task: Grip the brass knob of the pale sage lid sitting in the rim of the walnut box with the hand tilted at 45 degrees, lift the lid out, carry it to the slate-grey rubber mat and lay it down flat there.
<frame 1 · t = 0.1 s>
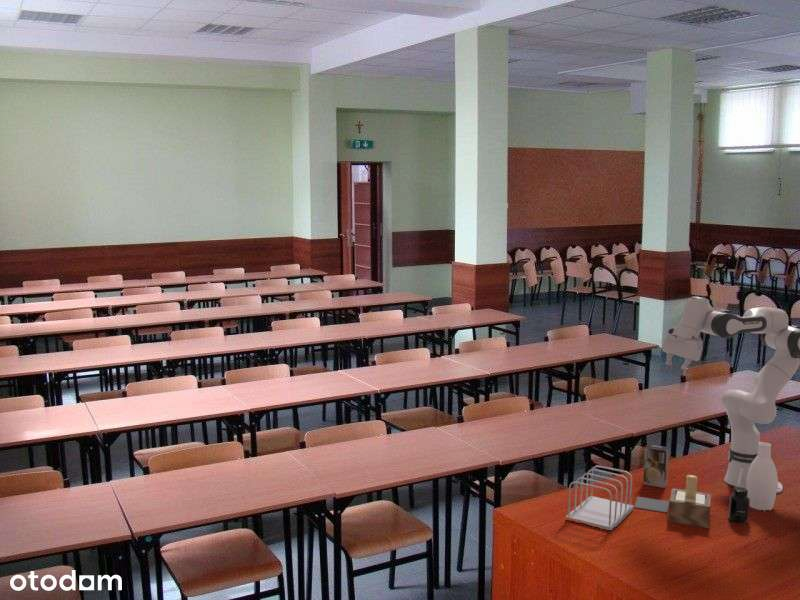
hand: (675, 367, 311), 52 cm above the table, tool tilted 20°, fingers open, 8 cm apart
coffee box: (654, 484, 325), on the table
supplement bottle: (738, 520, 289), on the table
bottle: (760, 507, 302), on the table
box: (689, 517, 290), on the table
file sorter: (600, 516, 291), on the table
mat: (651, 505, 302), on the table
lid: (690, 499, 289), point 7 cm above the table, touching box
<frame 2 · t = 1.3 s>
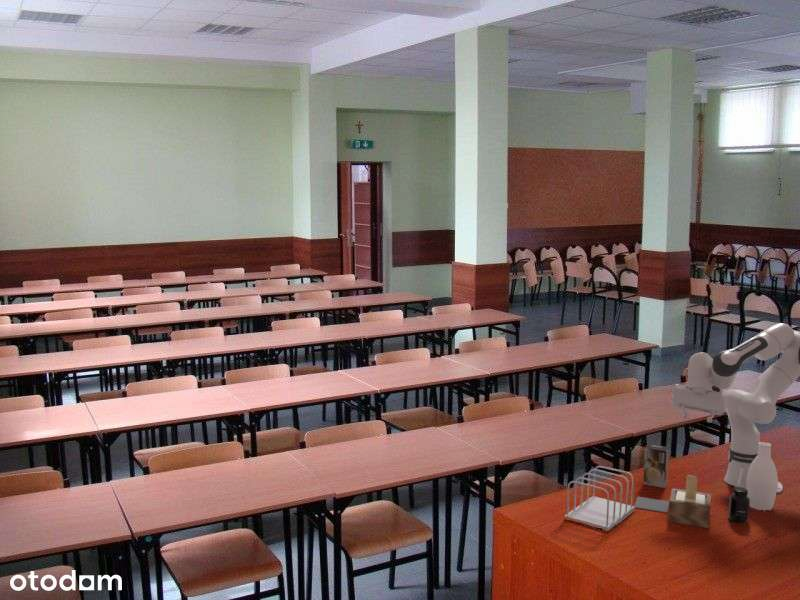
hand: (696, 419, 303), 33 cm above the table, tool tilted 45°, fingers open, 8 cm apart
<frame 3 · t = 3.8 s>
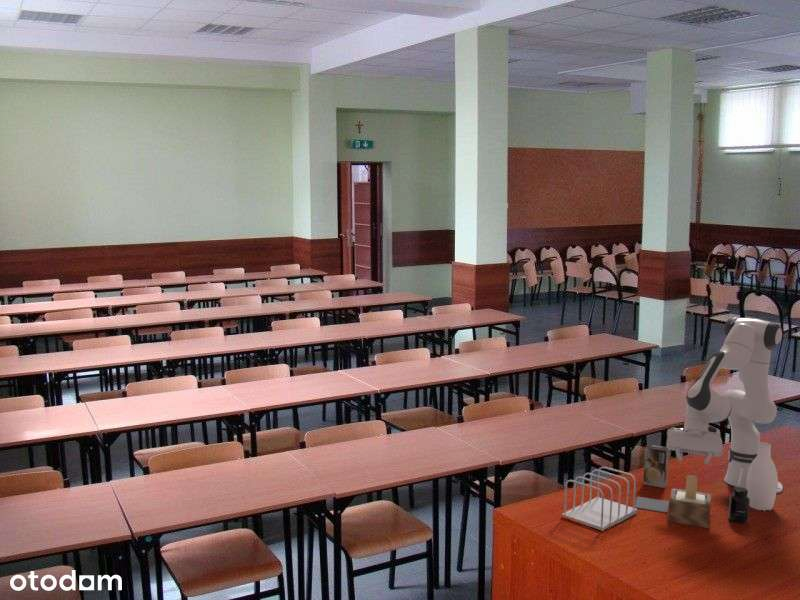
hand: (692, 462, 294), 20 cm above the table, tool tilted 45°, fingers open, 8 cm apart
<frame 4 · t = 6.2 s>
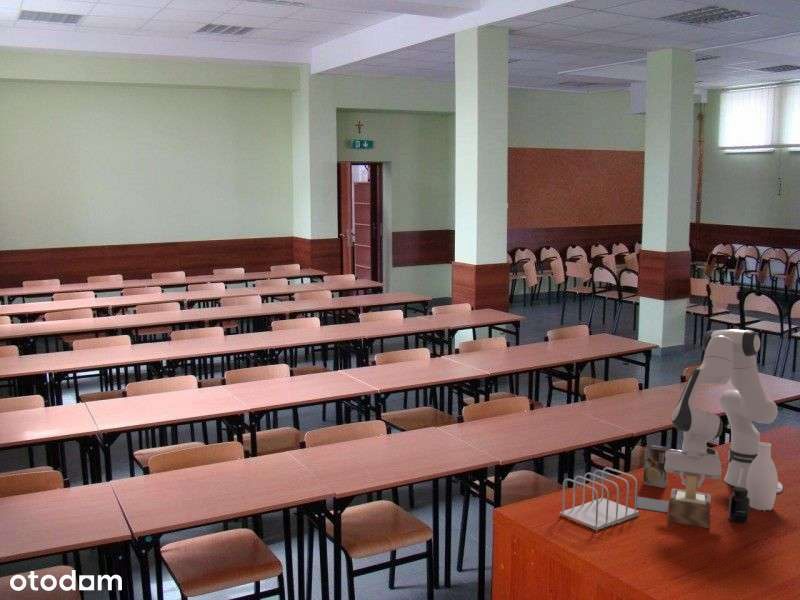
hand: (691, 485, 288), 13 cm above the table, tool tilted 45°, fingers closed on lid, 4 cm apart
lid: (690, 499, 289), point 7 cm above the table, touching box, gripper
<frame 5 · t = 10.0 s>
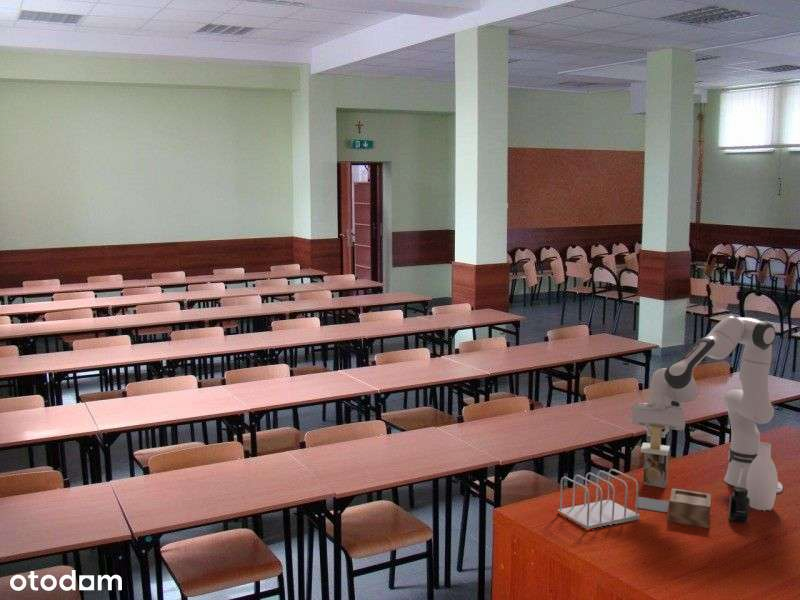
hand: (655, 435, 298), 28 cm above the table, tool tilted 45°, fingers closed on lid, 4 cm apart
lid: (655, 450, 299), point 22 cm above the table, touching gripper
when the fingers open (8 cm above the table, at t = 13.8 s): lid drops 2 cm, resting on mat.
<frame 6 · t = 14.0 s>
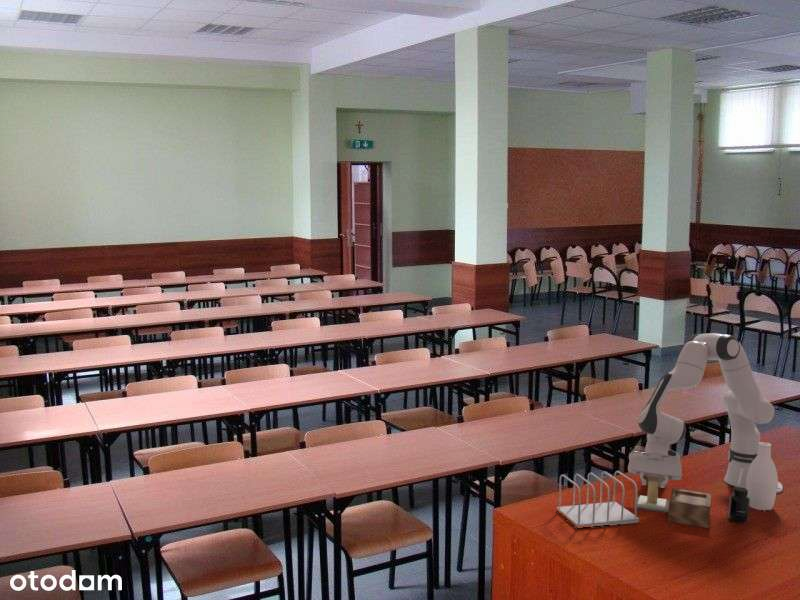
hand: (652, 485, 300), 8 cm above the table, tool tilted 45°, fingers open, 5 cm apart
lid: (652, 504, 302), resting on mat
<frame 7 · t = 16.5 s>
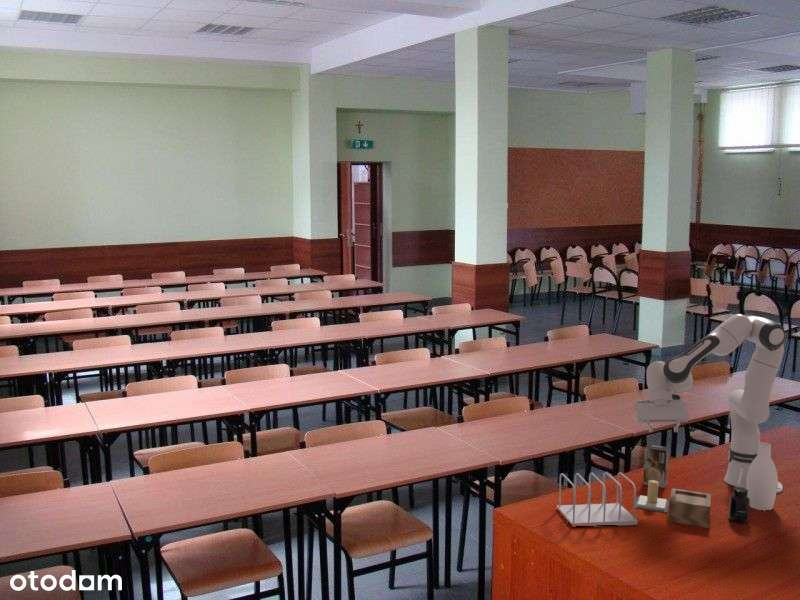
hand: (663, 431, 307), 27 cm above the table, tool tilted 40°, fingers open, 8 cm apart
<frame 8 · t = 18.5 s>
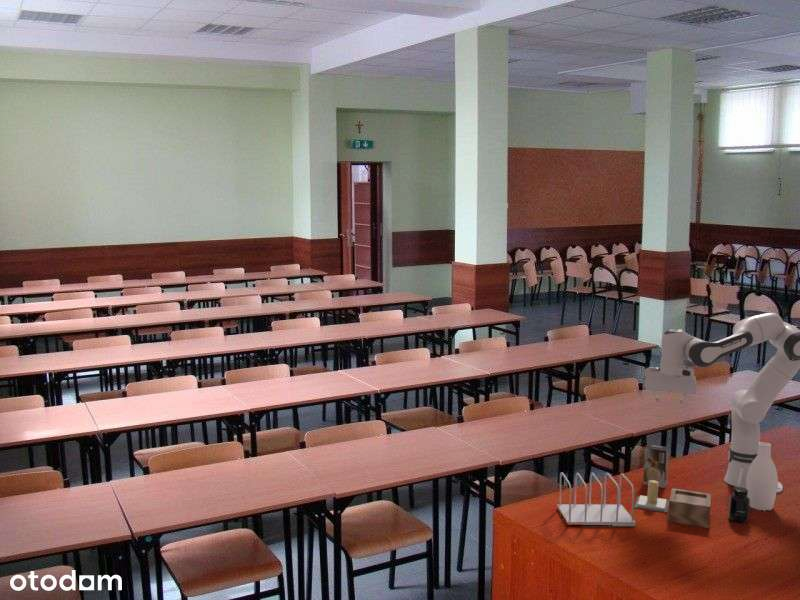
hand: (669, 402, 313), 37 cm above the table, tool pointing down, fingers open, 8 cm apart
at the end: lid inside the target area on the mat (0.0 cm from its centre), point 0.4 cm above the mat's base; lid tilted 0°; the gripper is holding nothing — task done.
